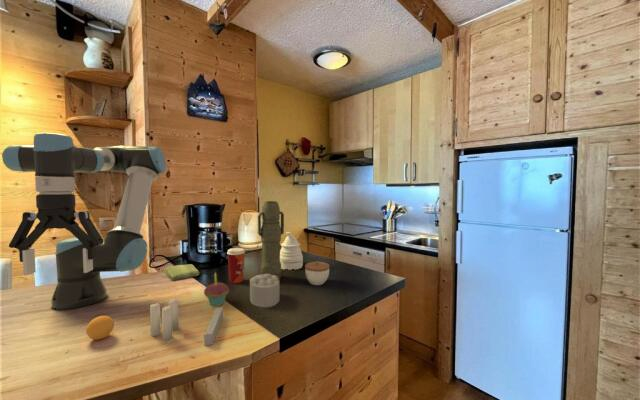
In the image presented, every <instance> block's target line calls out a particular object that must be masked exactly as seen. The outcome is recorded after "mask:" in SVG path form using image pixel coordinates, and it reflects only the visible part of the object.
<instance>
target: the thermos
mask: <svg viewBox="0 0 640 400" xmlns="http://www.w3.org/2000/svg"><path fill="white" fill-rule="evenodd" d="M261 210H262V211H261V212H259V213H258V215H257V234H258V235H259V237H260V241H261V264H260V275H261V274H270V275H275V276H277V277H278V279H279V281H280V280H281V278H282V276H281V274H282V269H281V262H280V250H281V240H282V235H284V234H285V233H284V232H285V213H284V212H283V211H281V209H280V205H279V202H278V201H275V200H273V201H271V200H270V201H267V200H266V201H265V202H263V205H262V209H261Z"/></svg>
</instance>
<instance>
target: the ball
mask: <svg viewBox="0 0 640 400" xmlns="http://www.w3.org/2000/svg"><path fill="white" fill-rule="evenodd" d="M114 328H115V322H114V320H113V318H111V317H110V316H108V315H100V316H96V317H95V318H93V319H92V320H90V322H89V323H88V324H87V326H86V332H85V333H86V335H87V337H88V338H89V339H91V340H96V341H97V340H99V341H100V340H103V339H105V338H106V337H108V336H110V334H111V333H112V332H113V330H114Z"/></svg>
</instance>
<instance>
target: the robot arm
mask: <svg viewBox="0 0 640 400" xmlns="http://www.w3.org/2000/svg"><path fill="white" fill-rule="evenodd" d="M1 157H2V162H3V164H4V166H5V167H6V168H7V169H9V170H11V171H14V172H22V173H26V172H27V173H28V172H29V173H33V172H35V173H34V181H35V182H34V183H35V184H34V185H35V192H37V193H39V194H36V195H35V205H36V209H37V212H35V211H33V210H32V211H31V210H30V211H25V212H23V213H22V217H21V222H20V224H19V225H18V227H17V230H16V231H15V233H14V234H13V236H12V239H11V240H10V243H9V244H8V247H9V248H10V249H17V250H18V252H19V253H18V254H19V261H20V263H22V271H23V276H29V275H32V274H34V273H36V272H37V271H36V255H35V253H36V252H35V247H33V245H34V244H35V243H36V242H37V240H39V239H40V237H41V236H42V235H43V234H44V233H45V232H46V231H47V230H53V229H57V230H63V229H65V230H66V231H69V232H70V234H72V235H73V236H74V237H71V238H67V239H63V240H60V241H59V242H57V243H56V245H55V253H54V254H55V261H56V263H55V264H56V276H57V279H56V280H57V283H56V286H55V290H54V292H53V294H52V297H51V300H50V301H51V308H52V307H53V309H54V308H56V309H55V310H73V309H78V308H84V307H86V306H90V305H93V304H96V303H99V302H100V301H103V300H104V299H105V298H107V296H108V295H107V294H108V293H107V287H106V286H105V283H104V281H103V280H102V278H101V273H105V272H109V273H110V272H120V273H122V272H130V271H135V270H137V269H139V267H141V266H142V265H143V263H144V261H145V259H146V256H147V252H148V248H147V247H148V244H147V241H146V239H144V235H143V234H142V233H141V231H142V230H141V229H142V227H143V222H144V217H145V214H146V209H147V206H148V203H149V198H150V194H151V190H152V186H153V182H155V181H157V179H159V175H160V174H161V175H163V174H164V173H165V172H166V171H167V161H166V156H165V154H164V152H163V150H162V148H160V147H158V146H150V145H148V146H146V145H145V146H140V145H114V146H98V147H94V148H91V147H84V146H77V145H75V144H74V140H73V138H72V137H71V136H70V135H67V134H63V133H55V132H54V133H53V132H37V133H35V134H34V136H33V145H25V144H24V145H23V144H19V145H18V144H17V145H9V146H7V147H5V148H4V150H3V151H2V154H1ZM100 171H101V172H114V173H122V174H123V173H124V174H127V176H128V179H127V182H126V186H125V189H124V191H123V196H122V199H121V202H120V205H119V209H118V213H117V215H116V219H115V221H114V225H113V228H112V229H110V230H108V231H107V232H106V236H105V237H104V238H103V237H102V236H101V234H100V232H99V231H98V229H97V227H96V225H95V224H94V222H93V221H92V219H91V217H90V212H89V210H83V211H79V212H76V209H75V208H76V204H77V203H76V194H74V193H73V192H75V191H76V184H75V182H76V180H75V173H84V174H93V173H98V172H100ZM75 219H77V220H79V222H80V224H81V226H82V228H83V229H84V230H83V229H82V228H81V226H80V224H79V223H78V222H77V221H76V220H75ZM36 220H39V222H38V223H37V225H35V226H34V223H35V222H36ZM33 226H34V229H32V228H33ZM31 229H32V231H31Z"/></svg>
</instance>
